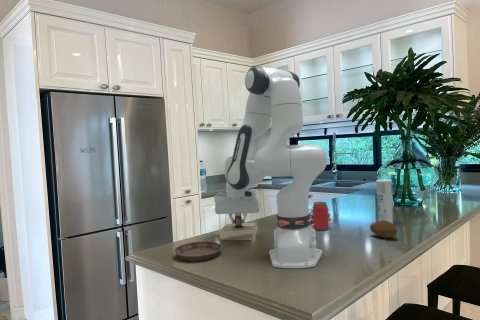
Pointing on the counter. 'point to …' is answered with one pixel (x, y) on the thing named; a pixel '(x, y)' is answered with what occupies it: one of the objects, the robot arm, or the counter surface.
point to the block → (238, 232)
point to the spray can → (384, 200)
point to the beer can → (320, 216)
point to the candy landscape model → (312, 216)
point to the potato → (384, 229)
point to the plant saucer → (198, 251)
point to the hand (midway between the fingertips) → (238, 223)
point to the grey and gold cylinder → (238, 221)
